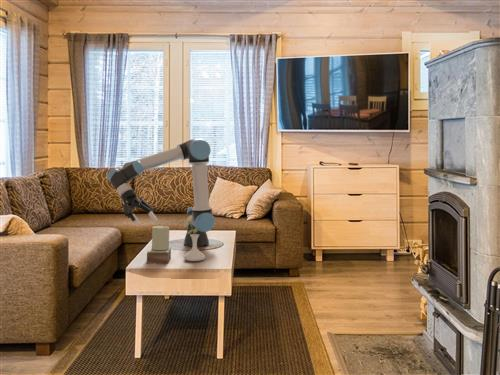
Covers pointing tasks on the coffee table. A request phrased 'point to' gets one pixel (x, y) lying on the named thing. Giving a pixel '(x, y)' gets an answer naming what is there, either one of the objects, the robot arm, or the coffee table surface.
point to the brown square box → (158, 256)
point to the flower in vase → (193, 253)
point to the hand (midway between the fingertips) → (147, 223)
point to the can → (160, 238)
